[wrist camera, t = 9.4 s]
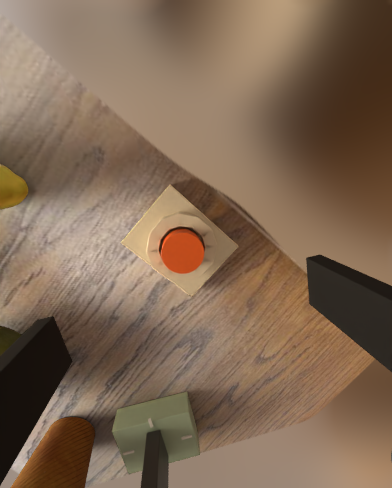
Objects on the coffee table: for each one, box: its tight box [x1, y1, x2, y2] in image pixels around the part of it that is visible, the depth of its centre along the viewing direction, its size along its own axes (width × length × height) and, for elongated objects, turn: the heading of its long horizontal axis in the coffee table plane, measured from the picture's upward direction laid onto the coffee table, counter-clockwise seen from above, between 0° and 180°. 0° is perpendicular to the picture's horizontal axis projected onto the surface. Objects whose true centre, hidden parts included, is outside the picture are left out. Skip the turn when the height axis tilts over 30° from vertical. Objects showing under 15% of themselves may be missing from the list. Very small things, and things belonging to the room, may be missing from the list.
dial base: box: [112, 392, 200, 474], centre depth 30 cm, size 10×9×3 cm
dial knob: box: [141, 430, 169, 488], centre depth 25 cm, size 5×2×7 cm, turn 11°
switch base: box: [121, 185, 238, 297], centre depth 24 cm, size 10×8×4 cm
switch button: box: [161, 229, 204, 274], centre depth 21 cm, size 4×4×2 cm
